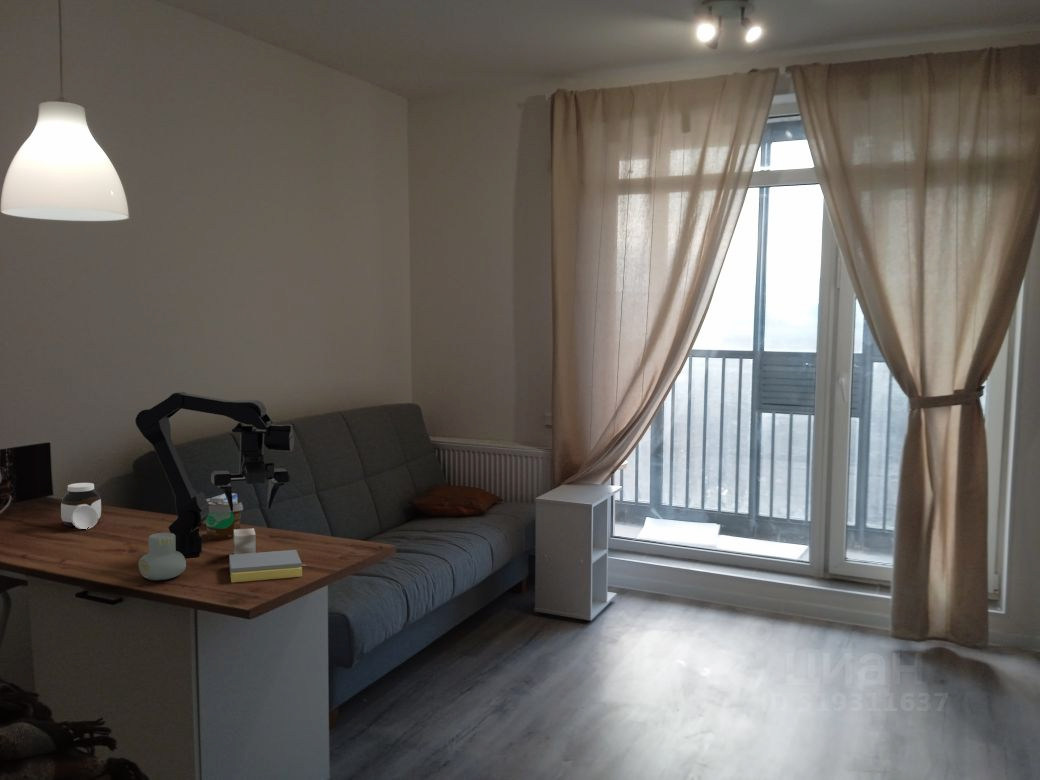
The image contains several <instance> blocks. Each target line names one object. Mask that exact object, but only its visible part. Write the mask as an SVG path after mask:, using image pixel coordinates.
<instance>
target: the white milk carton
mask: <svg viewBox="0 0 1040 780" xmlns="http://www.w3.org/2000/svg"><path fill="white" fill-rule="evenodd" d="M256 540H257V539H256V531H255V528H253V527H252V528H240V529H235V530H234V539H233V554H246V553H257V552H256V551H257V550H256V549H257V543H256Z"/></svg>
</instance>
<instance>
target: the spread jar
mask: <svg viewBox="0 0 1040 780" xmlns="http://www.w3.org/2000/svg"><path fill="white" fill-rule="evenodd" d="M101 515H102V499H101V496H100V494H98V492H97V491H96V490H95V484H94V483H92V482H78V483H70V484H68V485H67V492H66V493H65V494H64V495H63V497H62V499H61V504H60V517H61V520H62V522H63V523H64V524H65V525H66V526H68V527H69V526H75V527H74V528H77V529H79V530H81V529H86V530H89V529H92V528H94V526H96V524H97V523H98V521H99V520H100V518H101ZM88 527H89V528H88ZM87 528H88V529H87Z"/></svg>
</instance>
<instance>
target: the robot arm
mask: <svg viewBox="0 0 1040 780" xmlns="http://www.w3.org/2000/svg"><path fill="white" fill-rule="evenodd" d="M181 409H182V410H187V411H188V410H189V411H193V412H194V411H195V412H200V413H207V414H211V415H212V414H213V415H219V416H223V417H227V418H229V419H231V420H233V421H236V422H238V423H237V425H235V426H234V428H232V429H231V432H232V433H240V434H239V435H240V437H239V468H238V469H239V473H230V471H228V470H213V472H211V474H210V475H211V478H210V483H212V484H213V485H214V486H217V487H218V488H219V489H221V490H223V494H224V493H225V495H226V498H227V501H228V504H229V507H230V510H231V511H233V500H232V493H233V492H232V491H233V486H232V484H231V483H232V482H242V481H243V482H246V483H247V484H248V485H252V484H265V483H267V480H268V488H267V501H266V504H267V509H268V510H271V507H272V505H273V504H272V503H273V501H274V499H275V497H276V494H277V492H278V490H279V489H280V488H281V487H282V486H283V487H284V486H285V483H290V482H291V474H290V472H289V471H288V470H287V469H286V468H283V467H282V468H281V467H279V468H275V463H274V462H266V463H265V459H264V447H265V448H267V449H268V451H273V452H277V451H278V452H293V451H294V447H295V435H294V434H295V433H294V430H293V424H275V423H274V421H273V420H272V419H271V417H270V416H269V414H268V413H267V408H266V405H265V404H264V402H262V401H260V400H257V399H240V400H239V399H238V400H229V399H223V398H222V399H221V398H217V397H210V396H204V395H198V394H192V393H187V392H184V391H178V392H174V393H172V394H170V395H169V396H168V397H167V398H166V399H164V400H162V401H161V402H158V404H156V405H154V406H153V407H149V408H146V409H142V410H141V411H139V412H138V413H137V414H136V417H135V425H136V428H137V429H138V430H139V432H140V433H141V435H142V437H143V438H145V439H146V440H147V441H148V443H150V444H151V445H152V447H153V449H154V452H155V453H156V455H157V458H158V461H159V463H160V465H161V467H162V470H163V471H164V472H163V473H164V475H165V476H166V478H167V480H168V481H167V482H168V483H169V485H170V487H171V491H172V492H173V494H174V498H175V499H174V500H175V501H174V502H175V512H176V516H177V519H175V521H173V522H172V523H171V524H170V525H169V526H168V530H169V533H173V534H174V535H175V538H176V551H178V552H180V553H181V554H182V555H183V556H184V558H192V557H193V558H194V557H200V555H201V553H202V551H203V547H202V545H203V543H202V542H203V540H202V539H203V537H202V534H201V533H200V528H201V526H202V523H203V522H204V521H206V518H207V517H208V514H209V508H208V507H209V506H210V504H209V503H208V502H207V500H206V499H207V498H206V495H205V492H204V491H202V492H200V493H198V492H197V491H196V490H195V489H194V488H193V485H192V483H191V481H190V479H189V476H188V474H187V472H186V469H185V468H184V465H183V463H182V460H181V458H180V456H179V454H178V451H177V449H176V447H175V445H174V442H173V440H172V437H171V436H172V435H171V428H172V427H171V424H170V423H171V422H170V418H172V417H173V416H175V415H176V414H177V413H178V412H179V411H180V410H181Z"/></svg>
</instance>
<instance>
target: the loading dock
mask: <svg viewBox="0 0 1040 780" xmlns="http://www.w3.org/2000/svg"><path fill="white" fill-rule="evenodd" d="M228 556H229V557H228V559H229V560H228V562H229V563H228V564H229V567H228V568H229V573H230V574H229V576H230V582H231V583H243V582H252V581H254V582H255V581H265V580H275V579H276V580H277V579H288V578H300V577H303V565H302V564H303V563H302V560H301V558H300V555H299V553H298V551H297V549H288V550H287V549H286V550H275V551H263V552H262V551H260V552H256V553H246V554H234V553H233V554H232V553H231V554H229V555H228Z"/></svg>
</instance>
